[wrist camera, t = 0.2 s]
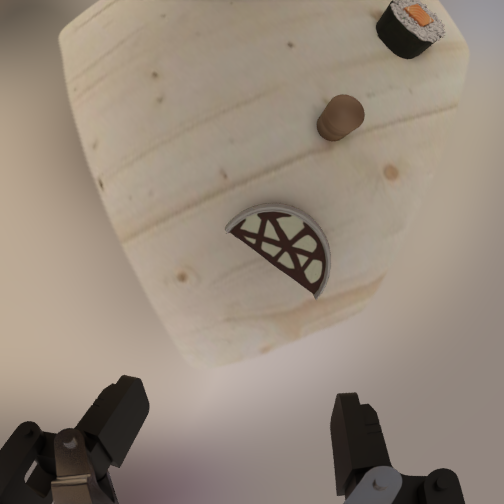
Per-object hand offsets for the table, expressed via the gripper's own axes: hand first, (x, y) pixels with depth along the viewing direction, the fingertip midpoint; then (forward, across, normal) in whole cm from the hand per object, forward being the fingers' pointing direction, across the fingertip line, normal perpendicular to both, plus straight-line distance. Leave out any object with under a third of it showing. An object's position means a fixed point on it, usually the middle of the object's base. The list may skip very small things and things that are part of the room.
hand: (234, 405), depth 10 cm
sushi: (+30, -21, -32) cm, 49 cm away
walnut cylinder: (+29, -8, -15) cm, 34 cm away
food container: (+29, -2, -2) cm, 29 cm away
